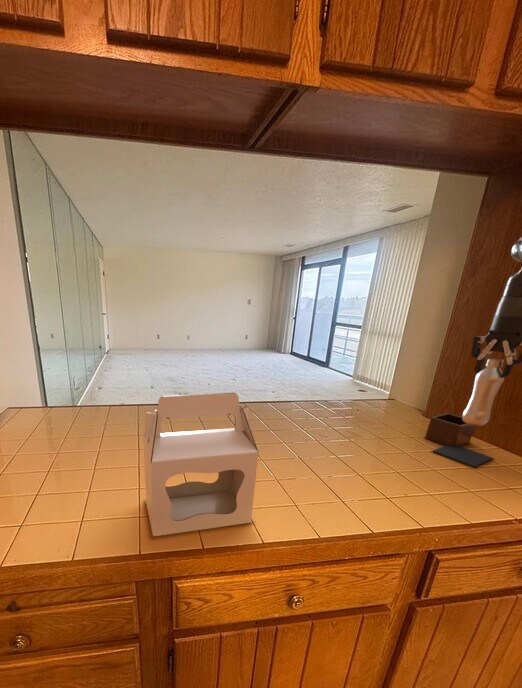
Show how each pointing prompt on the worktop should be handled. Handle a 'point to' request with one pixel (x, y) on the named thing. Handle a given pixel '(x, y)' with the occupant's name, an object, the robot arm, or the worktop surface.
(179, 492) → the gable box
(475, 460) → the mat
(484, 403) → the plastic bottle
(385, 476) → the worktop surface
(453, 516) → the worktop surface
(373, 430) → the worktop surface
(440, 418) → the holder
